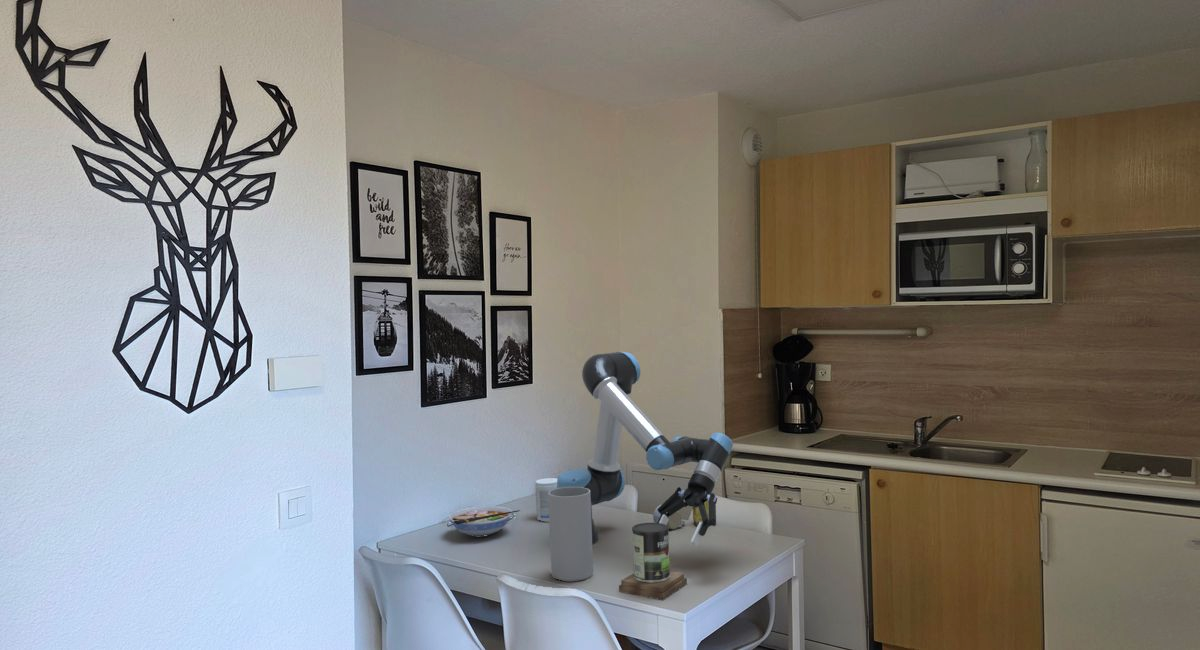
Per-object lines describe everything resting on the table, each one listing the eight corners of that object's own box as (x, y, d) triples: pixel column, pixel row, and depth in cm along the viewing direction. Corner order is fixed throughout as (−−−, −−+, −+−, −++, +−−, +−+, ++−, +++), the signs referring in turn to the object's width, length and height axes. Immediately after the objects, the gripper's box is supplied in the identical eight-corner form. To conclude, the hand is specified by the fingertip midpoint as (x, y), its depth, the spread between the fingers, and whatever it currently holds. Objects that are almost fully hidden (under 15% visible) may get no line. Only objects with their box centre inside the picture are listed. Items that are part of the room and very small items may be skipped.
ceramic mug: (667, 532, 275) (667, 510, 275) (652, 527, 282) (652, 505, 281) (690, 526, 281) (690, 505, 281) (675, 522, 288) (674, 501, 288)
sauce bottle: (694, 521, 287) (692, 467, 286) (711, 522, 285) (710, 468, 284) (691, 526, 280) (689, 471, 280) (709, 527, 278) (707, 471, 278)
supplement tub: (567, 518, 298) (565, 479, 297) (548, 524, 291) (546, 484, 291) (550, 514, 304) (549, 476, 304) (531, 519, 298) (530, 481, 297)
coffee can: (676, 573, 223) (674, 524, 223) (660, 585, 214) (658, 534, 214) (644, 568, 229) (642, 520, 228) (627, 579, 220) (625, 529, 219)
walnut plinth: (619, 591, 219) (618, 580, 219) (644, 576, 231) (643, 565, 231) (663, 600, 212) (662, 589, 212) (686, 583, 223) (686, 573, 223)
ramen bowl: (499, 521, 297) (498, 499, 297) (527, 534, 278) (526, 511, 278) (436, 533, 283) (435, 511, 283) (461, 548, 264) (460, 524, 264)
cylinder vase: (596, 568, 239) (593, 486, 239) (589, 582, 227) (586, 496, 226) (556, 567, 241) (553, 486, 241) (547, 581, 229) (543, 496, 229)
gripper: (743, 491, 233) (715, 554, 222) (677, 480, 250) (648, 538, 239) (733, 477, 229) (704, 540, 218) (666, 467, 246) (636, 525, 235)
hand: (674, 539), depth 229 cm, fingers open, 13 cm apart
